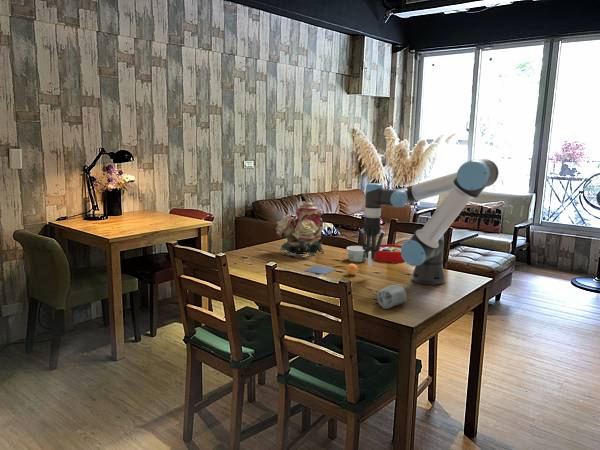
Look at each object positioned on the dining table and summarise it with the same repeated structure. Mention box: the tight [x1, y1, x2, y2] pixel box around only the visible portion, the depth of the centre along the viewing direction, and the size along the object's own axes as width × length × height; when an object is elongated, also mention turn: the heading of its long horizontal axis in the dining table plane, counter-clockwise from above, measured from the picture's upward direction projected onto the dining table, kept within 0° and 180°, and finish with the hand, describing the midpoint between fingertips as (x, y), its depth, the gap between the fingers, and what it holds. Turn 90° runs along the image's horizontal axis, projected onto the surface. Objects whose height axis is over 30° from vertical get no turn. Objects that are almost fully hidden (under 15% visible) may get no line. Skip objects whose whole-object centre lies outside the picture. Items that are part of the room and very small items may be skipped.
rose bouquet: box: [275, 200, 325, 259], centre depth 289 cm, size 26×29×30 cm
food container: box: [346, 245, 367, 263], centre depth 277 cm, size 12×12×6 cm
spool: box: [376, 284, 408, 310], centre depth 202 cm, size 14×10×10 cm
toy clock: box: [373, 243, 405, 263], centre depth 282 cm, size 20×6×20 cm
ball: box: [345, 263, 359, 276], centre depth 247 cm, size 6×6×6 cm
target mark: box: [304, 265, 336, 275], centre depth 255 cm, size 12×12×1 cm
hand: (370, 265), depth 242 cm, fingers closed
